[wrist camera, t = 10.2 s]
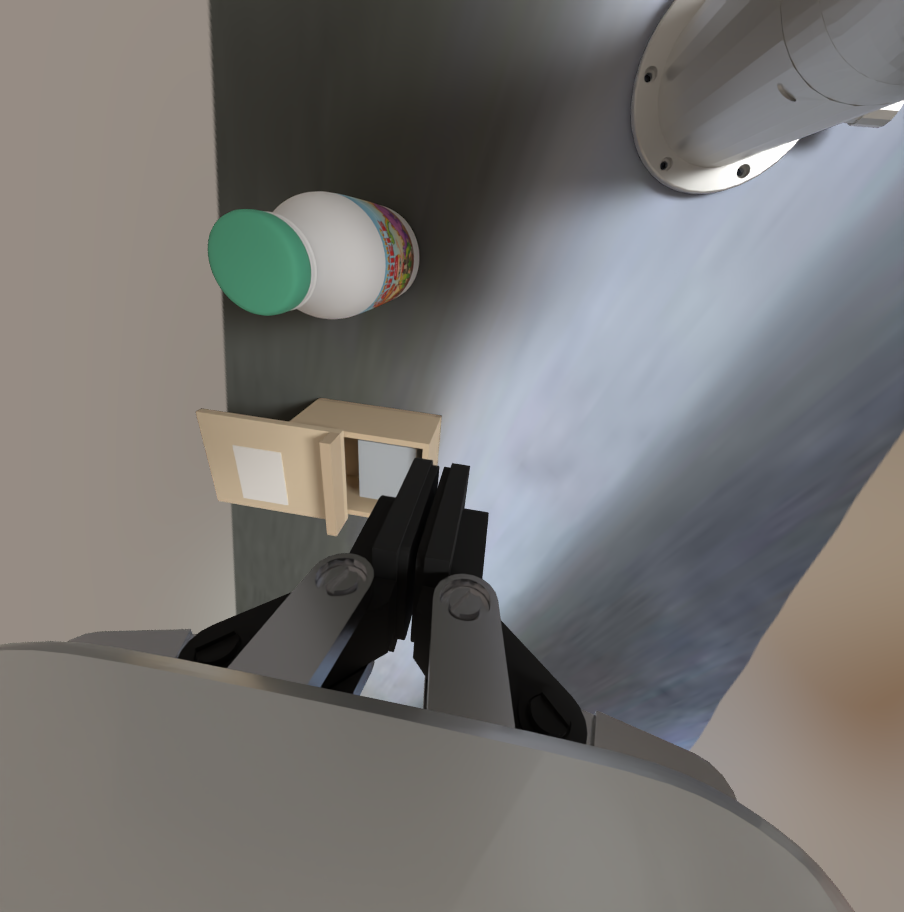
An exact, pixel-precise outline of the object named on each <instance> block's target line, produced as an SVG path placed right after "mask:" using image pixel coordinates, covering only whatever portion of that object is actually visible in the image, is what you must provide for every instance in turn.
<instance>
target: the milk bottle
mask: <svg viewBox="0 0 904 912" xmlns="http://www.w3.org/2000/svg"><path fill="white" fill-rule="evenodd" d="M208 257H209V263H210V267H211V270H212V273H213V275H214V277H215V279H216V281H217V283H218V285H219V286H220V288H221V289H222V291H223V292H224V293H225V294H226V295H227V297H228V298H229V299H230V300H231V301H233V302H234V303H235V304H236V305H238V306H239V307H241V308H242V309H244V310H246V311H248V312H251V313H254V314H258V315H265V316H271V315H277V314H281V313H285V312H287V311H291V310H295V309H298V310H300V311H302V312H303V313H306V314H308V315H311V316H314V317H318V318H324V319H342V318H348V317H351V316H355V315H358V314H361V313H363V312H366V311H368V310H371V309H373V308H375V307H378V306H380V305H382V304H384V303H387V302H389V301H391V300H393V299H395V298H397V297H399V296H400V295H402V294H403V293H404V292H406V291H407V290H408V289H409V287H410V286H411V285H412V283H413V281H414V279H415V277H416V275H417V271H418V267H419V248H418V243H417V240H416V237H415V235H414V232H413V231H412V229H411V227H410V226H409V224H408V223H407V222H406V220H405V219H404V218H403V217H402V216H400V215H399V214H398V213H397V212H395V211H393V210H392V209H389V208H387V207H385V206H382V205H378V204H375V203H372V202H368V201H365V200H361V199H358V198H354V197H350V196H346V195H342V194H337V193H331V192H323V191H316V192H306V193H301V194H298V195H296V196H293V197H291V198H289V199H287V200H286V201H284V202H283V203H281V204H280V205H279V206H278V207H277V208H276V209H275V210H274V211H273V212H267V211H259V210H253V209H238V210H234V211H231V212H229V213H227V214H225V215H223V216H222V217H221V218H219V219H218V220H217V222H216V223H215V224H214V226H213V228H212V230H211V232H210V235H209V240H208Z"/></svg>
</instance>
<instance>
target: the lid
mask: <svg viewBox="0 0 904 912" xmlns="http://www.w3.org/2000/svg"><path fill="white" fill-rule="evenodd" d="M196 415H197V419H198V423H199V427H200V431H201V435H202V439H203V443H204V447H205V451H206V454H207V458H208V462H209V466H210V470H211V474H212V478H213V482H214V486H215V490H216V494H217V498H218V501H222V502H229V503H234V504H240V505H246V506H251V507H257V508H263V509H269V510H275V511H281V512H286V513H292V514H298V515H304V516H310V517H316V518H321V519H326V525H327V535H333V536H337V535H338V533H339V532H340V530H341V528H342V527H343V525H344V523H345V522H346V520H347V519H348V510H347V490H346V470H345V451H344V431H343V430H340V429H334V428H327V427H321V426H314V425H307V424H301V423H294V422H288V421H281V420H274V419H268V418H261V417H255V416H248V415H242V414H235V413H228V412H221V411H215V410H208V409H200V410H198V411H196Z"/></svg>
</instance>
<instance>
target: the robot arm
mask: <svg viewBox="0 0 904 912" xmlns="http://www.w3.org/2000/svg"><path fill="white" fill-rule="evenodd" d="M645 75H649V76H650V82H648V83H646V82H645V80H644V77H645ZM903 103H904V0H674V2H673V3H672V5H671V6H670V7H669V9H668V10H667V12H666V13H665V15H664V16H663V18H662V19H661V21H660V22H659V24H658V26H657V28H656V29H655V31H654V33H653V34H652V36H651V38H650V40H649V42H648V45H647V47H646V49H645V52H644V54H643V56H642V59H641V61H640V64H639V68H638V71H637V75H636V78H635V82H634V87H633V94H632V102H631V128H632V133H633V138H634V143H635V146H636V149H637V151H638V154H639V156H640V158H641V161H642V162H643V164H644V165H645V167H646V168H647V169H648V171H649V172H650V174H651V175H652V176H654V177H655V178H656V179H657V180H658V181H659V182H661V183H662V184H663V185H665V186H667V187H669V188H671V189H673V190H675V191H679V192H684V193H689V194H709V193H714V192H719V191H724V190H727V189H730V188H733V187H736V186H739V185H741V184H743V183H745V182H747V181H749V180H751V179H753V178H755V177H757V176H759V175H760V174H761V173H763V172H764V171H766V170H767V169H769V168H770V167H771V166H773V165H774V164H776V163H777V162H778V161H779V160H780V159H781V158H782V157H783V156H784V155H785V154H786V153H787V152H789V151H790V150H791V149H792V148H793V147H794V146H795V144H796V143H797V142H798V141H799V140H800V138H803V137H806V136H808V135H811V134H814V133H817V132H819V131H822V130H825V129H827V128H830V127H833V126H835V125H838V124H841V123H847V124H848V125H849V126H860V127H873V128H879V127H882V126H884V125H886V124H887V123H888V122H889V121H891V120H892V118H893V117H894V116H895V115H896V114H897V112H898V111H899V110H900V108H901V106H902V104H903ZM662 162H664V163H665V164H666V166H665V169H664V170H661V169H660V164H661V163H662ZM738 169H740V170H741V174H740V175H739V176H737V170H738ZM469 470H470V466H467V465H461V464H454V463H452V465H451V468H449V467H444V469H443V472H442V476H441V479H440V482H439V485H438V477H439V466H436V465H433V460H428V459H422V458H414V460H413V462H412V464H411V466H410V468H409V471H408V473H407V475H406V477H405V479H404V481H403V483H402V485H401V488H400V490H399V492H398V494H397V496H396V497H391V496H385V495H382V496H380V498H379V499H378V501H377V503H376V505H375V506H374V508H373V510H372V512H371V514H370V516H369V518H368V519H367V521H366V523H365V525H364V527H363V529H362V531H361V533H360V534H359V536H358V538H357V540H356V542H355V544H354V546H353V547H352V549H351V551H350V553H341V554H335V555H332V556H328V557H327V558H325V559H323V560H321V561H319V562H318V563H317V564H316V565H315V566H314V567H313V568H312V569H311V570H310V571H309V573H308V574H307V575H306V576H305V577H304V578H303V580H302V581H301V582H300V583H299V584H298V585H297V587H296V588H295V589H294V590H293V591H292V592H291V593H289V594H286V595H284V596H281V597H279V598H277V599H274V600H272V601H269V602H267V603H265V604H262V605H260V606H257V607H255V608H253V609H250V610H248V611H245V612H243V613H240V614H238V615H236V616H233V617H231V618H228V619H226V620H224V621H221V622H219V623H216V624H214V625H212V626H210V627H208V628H206V629H204V630H202V631H201V632H199V633H198V634H192V632H191V629H179V630H142V631H104V632H103V631H102V632H94V633H88V634H84V635H81V636H79V637H76V638H74V639H71V640H69V641H68V642H54V641H46V642H25V643H24V642H23V643H10V644H3V645H0V912H855V911H854V910H853V908H852V907H851V905H850V904H849V903H848V901H847V900H846V899H845V897H844V896H843V894H842V893H841V892H840V890H839V889H838V887H837V886H836V885H835V884H834V883H833V881H832V880H831V879H830V878H829V877H828V876H827V874H826V873H825V872H824V871H823V869H822V868H821V867H820V866H819V865H818V864H817V863H816V862H815V861H814V860H813V859H812V858H811V857H810V856H809V855H808V854H807V853H806V852H805V851H804V850H803V849H802V848H801V847H799V846H798V845H797V844H796V843H795V842H793V841H792V840H791V839H790V838H788V837H787V836H786V835H785V834H783V833H782V832H781V831H780V830H778V829H777V828H776V827H774V826H773V825H772V824H770V823H769V822H767V821H766V820H765V819H763V818H762V817H760V816H759V815H757V814H756V813H754V812H753V811H751V810H750V809H748V808H747V807H745V806H744V805H742V804H741V803H739V802H738V801H737V800H736V797H735V795H734V792H733V790H732V789H731V787H730V786H729V784H728V783H727V781H726V780H725V778H724V777H723V776H722V774H720V773H719V772H718V771H717V770H716V769H715V768H714V767H713V766H712V765H711V764H710V763H709V762H708V761H706V760H704V759H703V758H701V757H700V756H698V755H696V754H695V753H692V752H690V751H688V750H686V749H683V748H681V747H679V746H676V745H674V744H672V743H670V742H667V741H665V740H663V739H660V738H658V737H656V736H654V735H651V734H649V733H647V732H644V731H642V730H640V729H638V728H635V727H633V726H631V725H628V724H626V723H624V722H622V721H619V720H617V719H615V718H613V717H610V716H608V715H606V714H603V713H601V712H599V711H596V713H595V715H593V714H591V713H588V712H586V711H584V710H582V709H581V708H580V707H579V705H578V704H577V703H576V701H575V700H574V699H573V697H572V696H571V695H570V694H569V693H568V692H567V691H566V690H565V688H564V687H563V686H562V685H561V684H560V683H559V682H558V681H557V680H556V679H555V678H554V677H553V676H552V675H551V673H550V672H549V671H548V670H547V669H546V668H545V667H544V666H543V665H542V664H541V663H540V662H539V661H538V660H537V658H536V657H535V656H534V655H533V654H532V653H531V652H530V651H529V650H528V649H527V648H526V647H525V646H524V644H523V643H522V642H521V641H520V640H519V639H518V638H517V637H516V636H515V635H514V634H513V633H512V632H511V631H510V629H509V628H508V627H507V626H506V625H505V624H504V623H503V622H502V621H501V618H500V611H499V604H498V599H497V596H496V592H495V591H494V590H493V588H492V587H491V586H490V585H489V584H488V583H487V582H486V581H484V580H483V579H482V576H483V566H484V556H485V546H486V535H487V525H488V514H489V513H488V512H482V511H476V510H470V509H464V507H465V499H466V492H467V485H468V477H469ZM411 617H412V626H411V642H414V652H413V658H414V660H415V661H416V663H417V664H418V666H419V667H420V669H421V670H422V672H423V673H424V675H425V680H424V697H423V709H421V708H417V707H412V706H407V705H402V704H397V703H393V702H388V701H383V700H378V699H373V698H369V697H364V696H360V694H361V692H362V690H363V688H364V686H365V684H366V682H367V680H368V678H369V676H370V674H371V672H372V669H373V666H374V660H376V659H377V658H379V657H381V656H383V655H384V654H386V653H388V651H391V652H394V649H395V646H396V643H397V639H401V640H405V638H406V635H407V631H408V627H409V624H410V620H411Z"/></svg>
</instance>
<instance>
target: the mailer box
mask: <svg viewBox="0 0 904 912" xmlns="http://www.w3.org/2000/svg"><path fill="white" fill-rule="evenodd" d="M441 418H442V416H441V415H435V414H428V413H421V412H414V411H407V410H400V409H393V408H387V407H380V406H373V405H366V404H359V403H352V402H345V401H338V400H332V399H325V398H319V399H317V400H316V401H315V402H314V403H312V404H311V405H310V406H308V407H307V408H306V409H305V410H303V411H302V412H301V413H300V414H298V415H297V416H296V417H294V418H293V419H292V420H291V421H289V422H294V423H301V424H307V425H314V426H321V427H327V428H334V429H340V430H343V431H344V451H345V470H346V490H347V510H348V514H352V515H358V516H363V517H369V516H370V514H371V512H372V510H373V508H374V506H375V505H376V503H377V501H378V499H379V498H380V496H382V495H385V496H391V497H396V496H397V494H398V492H399V490H400V488H401V485H402V483H403V481H404V479H405V477H406V475H407V473H408V471H409V468H410V466H411V464H412V462H413V460H414V458H422V459H428V460H433V465H436V466H437V463H438V452H439V441H440V429H441Z"/></svg>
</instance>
